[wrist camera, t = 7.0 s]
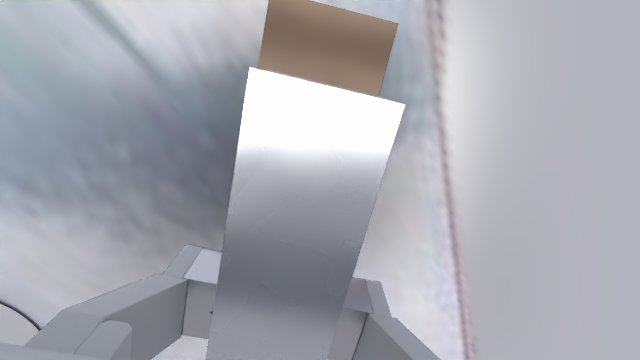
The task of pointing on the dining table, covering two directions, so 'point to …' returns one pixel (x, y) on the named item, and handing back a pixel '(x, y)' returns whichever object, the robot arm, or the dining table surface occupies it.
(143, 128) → the dining table surface
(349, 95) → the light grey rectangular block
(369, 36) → the brown wooden block
